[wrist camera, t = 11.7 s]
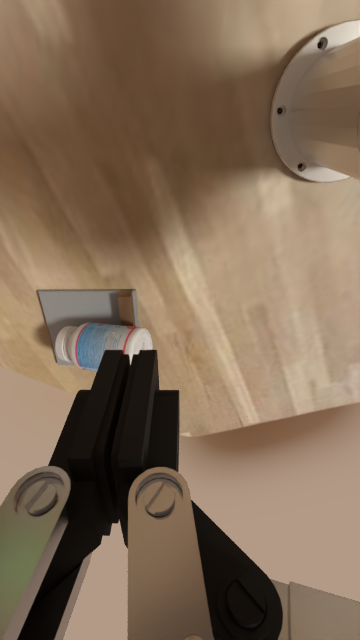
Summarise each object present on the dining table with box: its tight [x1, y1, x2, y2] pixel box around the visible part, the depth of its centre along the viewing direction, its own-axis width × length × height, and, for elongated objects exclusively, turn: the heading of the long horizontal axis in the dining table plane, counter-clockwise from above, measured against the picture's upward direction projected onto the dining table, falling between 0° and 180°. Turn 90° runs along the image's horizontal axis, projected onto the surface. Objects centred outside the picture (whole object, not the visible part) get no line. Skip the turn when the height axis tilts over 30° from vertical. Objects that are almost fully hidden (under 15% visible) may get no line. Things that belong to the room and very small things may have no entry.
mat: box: [38, 290, 139, 365], centre depth 45 cm, size 12×12×1 cm
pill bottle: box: [55, 323, 152, 372], centre depth 41 cm, size 6×6×11 cm
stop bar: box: [118, 290, 136, 327], centre depth 44 cm, size 2×12×2 cm, turn 1°
